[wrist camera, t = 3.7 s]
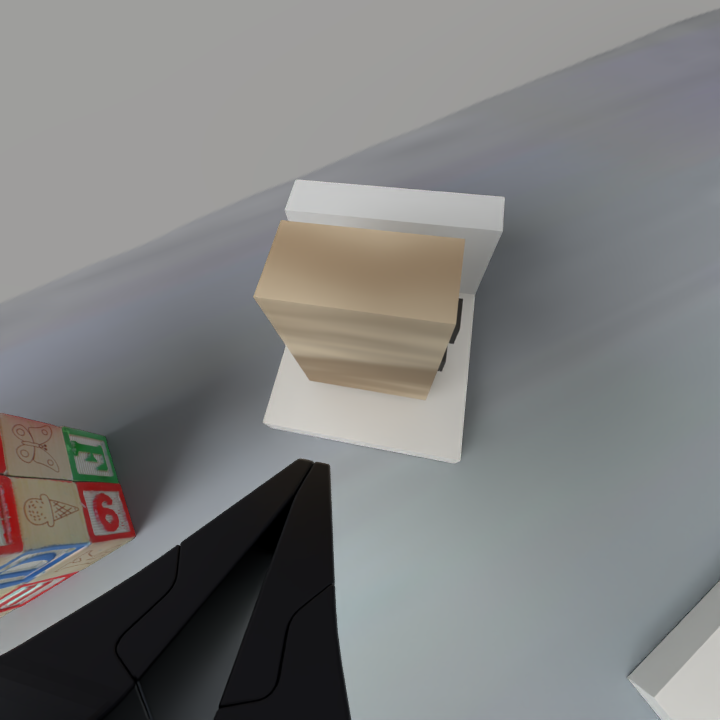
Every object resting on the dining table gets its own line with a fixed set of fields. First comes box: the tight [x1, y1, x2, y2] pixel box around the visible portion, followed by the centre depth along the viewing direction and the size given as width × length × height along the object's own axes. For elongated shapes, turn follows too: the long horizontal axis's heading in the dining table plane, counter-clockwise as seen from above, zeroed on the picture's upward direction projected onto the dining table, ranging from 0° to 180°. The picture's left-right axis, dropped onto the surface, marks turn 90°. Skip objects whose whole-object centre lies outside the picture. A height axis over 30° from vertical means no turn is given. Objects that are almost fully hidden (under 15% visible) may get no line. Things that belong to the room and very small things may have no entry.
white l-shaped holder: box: [263, 180, 505, 464], centre depth 17 cm, size 12×10×6 cm
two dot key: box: [254, 220, 465, 400], centre depth 14 cm, size 3×6×8 cm, turn 79°
